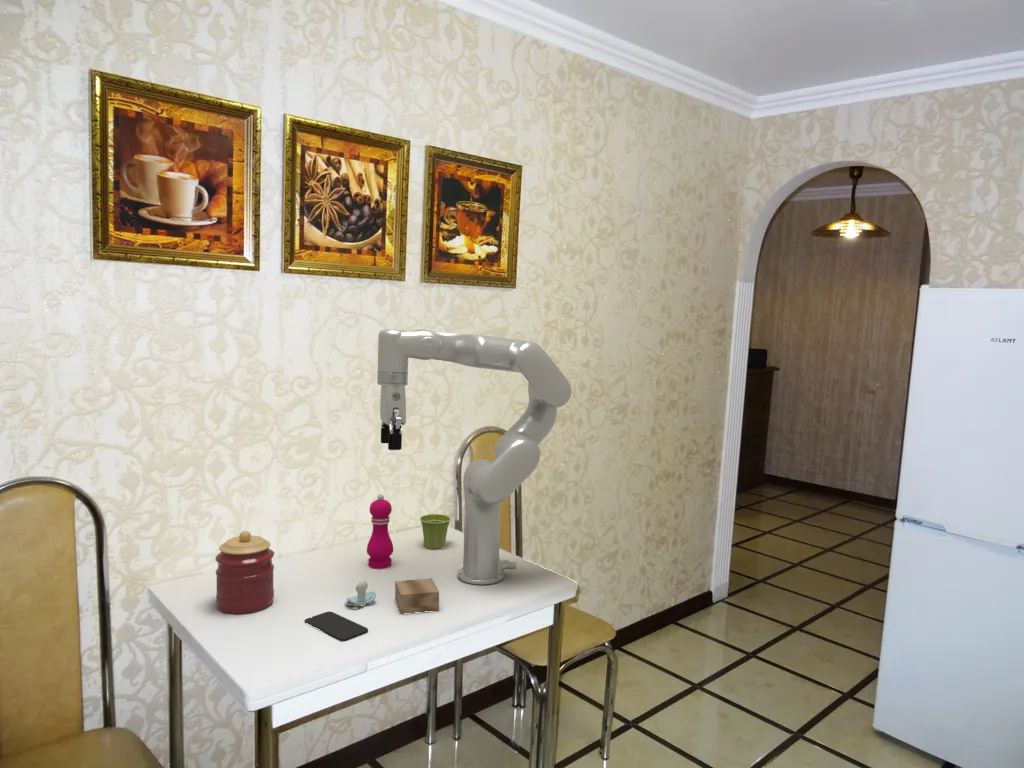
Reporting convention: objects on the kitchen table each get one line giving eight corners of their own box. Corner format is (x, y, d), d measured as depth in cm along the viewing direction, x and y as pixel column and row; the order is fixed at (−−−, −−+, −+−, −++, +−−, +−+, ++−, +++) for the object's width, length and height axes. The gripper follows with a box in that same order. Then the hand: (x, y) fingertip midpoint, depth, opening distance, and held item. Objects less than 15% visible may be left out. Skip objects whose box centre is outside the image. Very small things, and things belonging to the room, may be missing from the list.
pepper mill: (398, 564, 201) (399, 493, 199) (380, 571, 195) (381, 498, 193) (379, 558, 205) (380, 489, 203) (361, 565, 199) (361, 494, 197)
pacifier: (339, 605, 172) (353, 611, 168) (338, 579, 172) (352, 585, 168) (365, 597, 178) (379, 603, 173) (364, 572, 177) (379, 578, 173)
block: (431, 597, 178) (431, 578, 178) (438, 612, 170) (439, 591, 169) (395, 601, 176) (395, 581, 175) (400, 615, 167) (400, 594, 167)
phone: (329, 610, 168) (370, 629, 158) (329, 613, 168) (370, 632, 158) (302, 620, 162) (342, 640, 152) (302, 623, 162) (342, 643, 152)
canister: (215, 597, 174) (214, 525, 173) (271, 590, 179) (271, 521, 178) (216, 618, 162) (215, 541, 161) (276, 610, 167) (276, 536, 166)
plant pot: (455, 544, 220) (456, 516, 219) (440, 553, 211) (441, 524, 211) (429, 539, 224) (429, 512, 223) (413, 548, 215) (413, 519, 214)
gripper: (415, 382, 174) (413, 452, 175) (400, 376, 190) (398, 440, 191) (384, 382, 171) (382, 453, 173) (371, 375, 187) (369, 440, 189)
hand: (390, 446), depth 182 cm, fingers open, 9 cm apart
